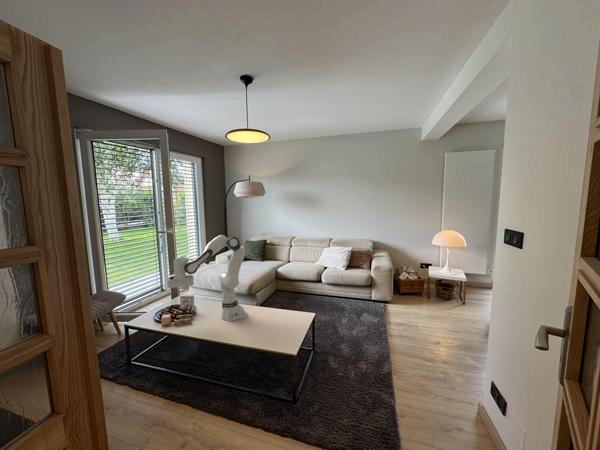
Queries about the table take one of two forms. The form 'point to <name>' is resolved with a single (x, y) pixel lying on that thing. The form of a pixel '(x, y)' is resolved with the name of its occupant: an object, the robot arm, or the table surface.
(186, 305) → the candy bar box
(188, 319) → the chute
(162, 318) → the block
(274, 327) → the table surface
